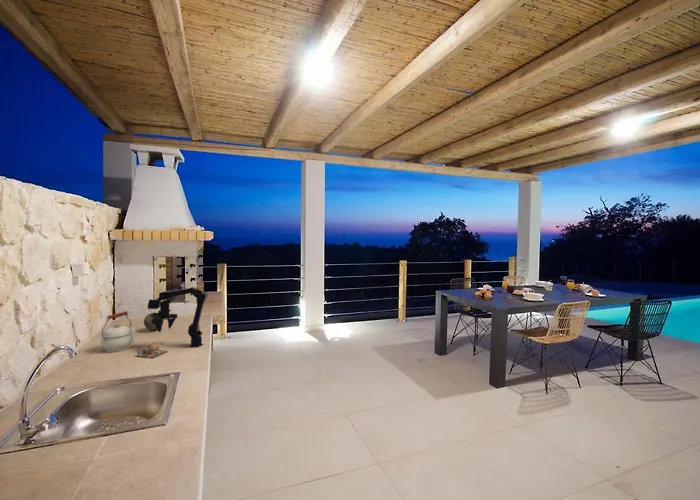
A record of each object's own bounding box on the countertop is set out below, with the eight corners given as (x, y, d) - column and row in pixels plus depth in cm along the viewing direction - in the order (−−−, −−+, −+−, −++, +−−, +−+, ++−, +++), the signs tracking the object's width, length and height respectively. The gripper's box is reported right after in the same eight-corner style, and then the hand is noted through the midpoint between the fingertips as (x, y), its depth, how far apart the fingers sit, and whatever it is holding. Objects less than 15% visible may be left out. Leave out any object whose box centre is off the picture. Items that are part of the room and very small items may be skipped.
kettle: (113, 355, 209) (113, 317, 209) (91, 352, 213) (91, 315, 212) (145, 343, 234) (145, 310, 233) (124, 341, 237) (124, 308, 237)
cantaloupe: (145, 329, 269) (145, 311, 269) (164, 327, 275) (164, 310, 274) (142, 333, 256) (142, 315, 256) (162, 332, 262) (162, 314, 262)
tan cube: (159, 351, 215) (159, 343, 215) (152, 354, 210) (152, 345, 209) (151, 351, 216) (151, 342, 216) (145, 353, 211) (145, 344, 211)
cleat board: (167, 352, 218) (167, 347, 218) (153, 358, 205) (153, 353, 205) (152, 350, 220) (152, 345, 220) (137, 356, 208) (137, 351, 208)
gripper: (165, 305, 238) (164, 326, 238) (144, 310, 219) (144, 333, 220) (178, 306, 236) (177, 327, 236) (158, 311, 217) (158, 334, 218)
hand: (164, 330), depth 227 cm, fingers open, 9 cm apart
